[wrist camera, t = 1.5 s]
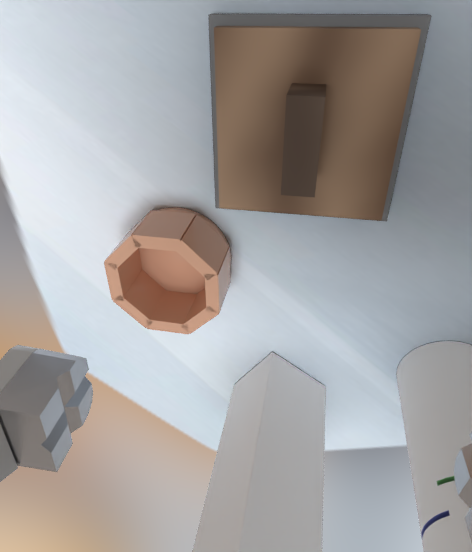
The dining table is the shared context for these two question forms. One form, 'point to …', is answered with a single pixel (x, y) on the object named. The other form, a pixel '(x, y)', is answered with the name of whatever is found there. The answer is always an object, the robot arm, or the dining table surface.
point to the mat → (325, 21)
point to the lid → (310, 116)
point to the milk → (268, 465)
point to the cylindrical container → (437, 437)
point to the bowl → (171, 270)
